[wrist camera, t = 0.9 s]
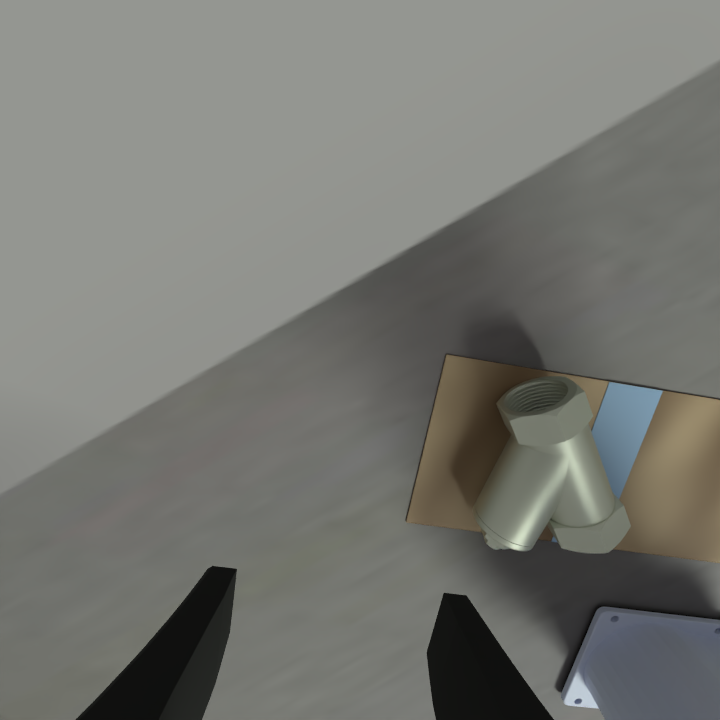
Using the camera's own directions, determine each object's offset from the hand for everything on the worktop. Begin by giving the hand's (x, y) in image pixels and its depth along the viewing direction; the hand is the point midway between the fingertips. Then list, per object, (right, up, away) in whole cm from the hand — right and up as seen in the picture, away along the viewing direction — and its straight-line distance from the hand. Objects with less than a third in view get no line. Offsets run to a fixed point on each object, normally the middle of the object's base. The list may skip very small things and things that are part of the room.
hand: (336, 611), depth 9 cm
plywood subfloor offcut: (+14, 0, +11) cm, 18 cm away
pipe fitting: (+9, +1, +11) cm, 14 cm away
